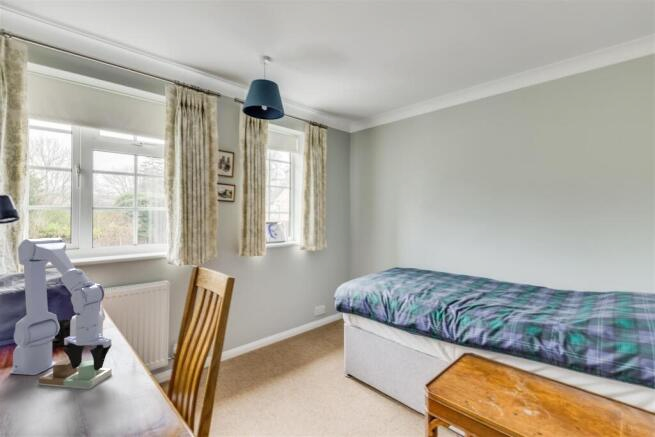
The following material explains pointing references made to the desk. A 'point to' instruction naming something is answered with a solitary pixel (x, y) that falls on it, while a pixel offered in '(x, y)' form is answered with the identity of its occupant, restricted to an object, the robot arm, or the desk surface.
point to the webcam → (61, 332)
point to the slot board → (75, 379)
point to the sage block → (86, 370)
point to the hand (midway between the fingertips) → (87, 367)
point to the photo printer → (73, 325)
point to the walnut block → (63, 369)
